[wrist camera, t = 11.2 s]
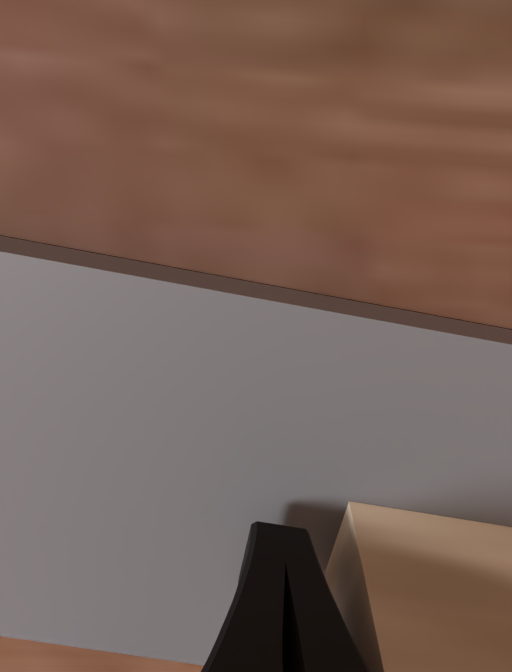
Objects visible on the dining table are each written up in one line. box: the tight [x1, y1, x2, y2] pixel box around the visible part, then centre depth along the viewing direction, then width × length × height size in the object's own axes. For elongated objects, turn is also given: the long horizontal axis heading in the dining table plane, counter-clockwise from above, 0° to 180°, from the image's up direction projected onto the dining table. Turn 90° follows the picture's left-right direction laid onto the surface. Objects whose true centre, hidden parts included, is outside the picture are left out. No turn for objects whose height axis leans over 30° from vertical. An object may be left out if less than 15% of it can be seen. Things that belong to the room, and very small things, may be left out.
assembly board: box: [0, 236, 512, 665], centre depth 13 cm, size 12×35×1 cm, turn 80°
